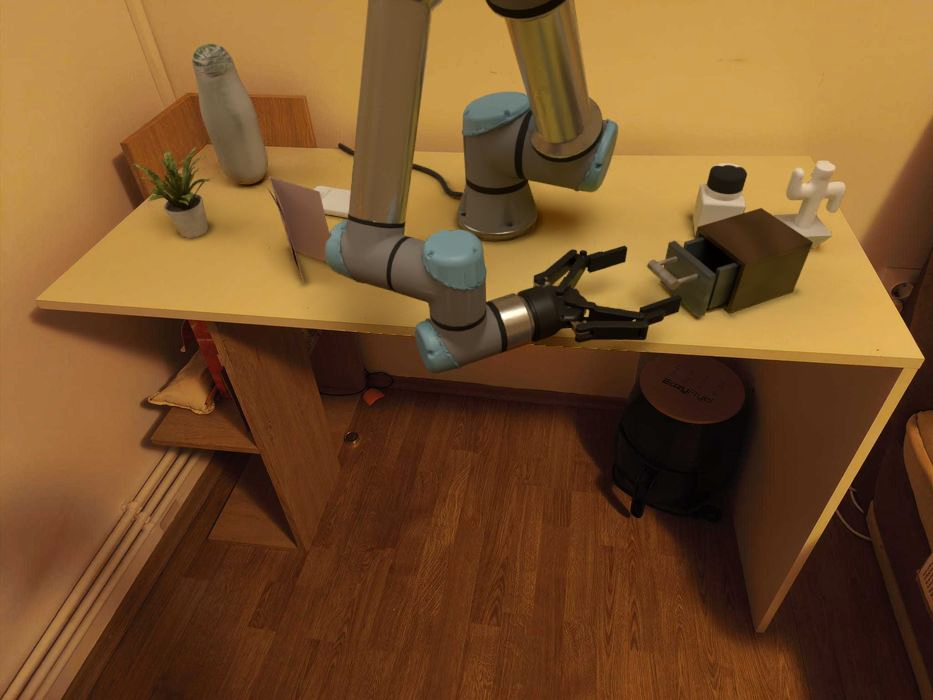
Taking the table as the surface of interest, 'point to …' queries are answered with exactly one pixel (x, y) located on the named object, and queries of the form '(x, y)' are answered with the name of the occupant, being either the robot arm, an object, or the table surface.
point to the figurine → (813, 201)
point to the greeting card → (302, 219)
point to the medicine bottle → (720, 195)
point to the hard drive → (334, 200)
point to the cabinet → (759, 255)
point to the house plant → (180, 195)
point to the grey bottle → (229, 116)
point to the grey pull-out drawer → (697, 274)
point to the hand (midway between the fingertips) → (650, 277)
